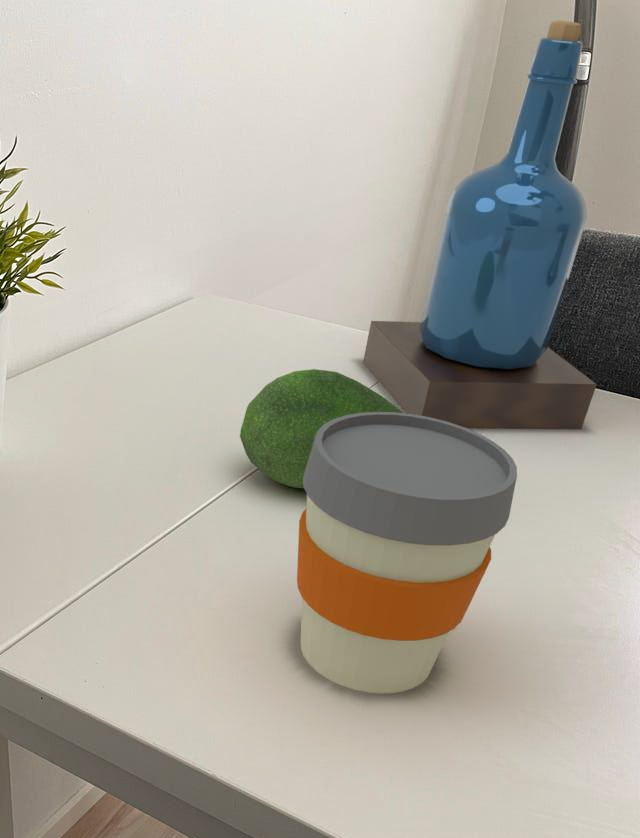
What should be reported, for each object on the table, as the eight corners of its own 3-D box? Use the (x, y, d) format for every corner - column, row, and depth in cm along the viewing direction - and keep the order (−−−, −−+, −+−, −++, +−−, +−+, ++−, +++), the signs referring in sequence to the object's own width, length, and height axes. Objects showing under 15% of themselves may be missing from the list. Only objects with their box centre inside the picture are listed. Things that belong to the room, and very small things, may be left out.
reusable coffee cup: (242, 619, 70) (272, 420, 62) (388, 590, 75) (436, 402, 66) (336, 730, 61) (387, 515, 53) (496, 690, 66) (568, 486, 57)
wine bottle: (542, 383, 100) (651, 34, 82) (409, 359, 103) (487, 17, 85) (542, 341, 111) (638, 25, 93) (422, 321, 113) (494, 10, 96)
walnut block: (506, 366, 118) (518, 324, 115) (581, 430, 104) (597, 384, 101) (362, 363, 115) (371, 320, 112) (418, 429, 101) (430, 381, 98)
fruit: (401, 472, 92) (427, 367, 86) (406, 522, 84) (434, 411, 78) (240, 449, 93) (254, 345, 88) (229, 497, 85) (244, 385, 80)
